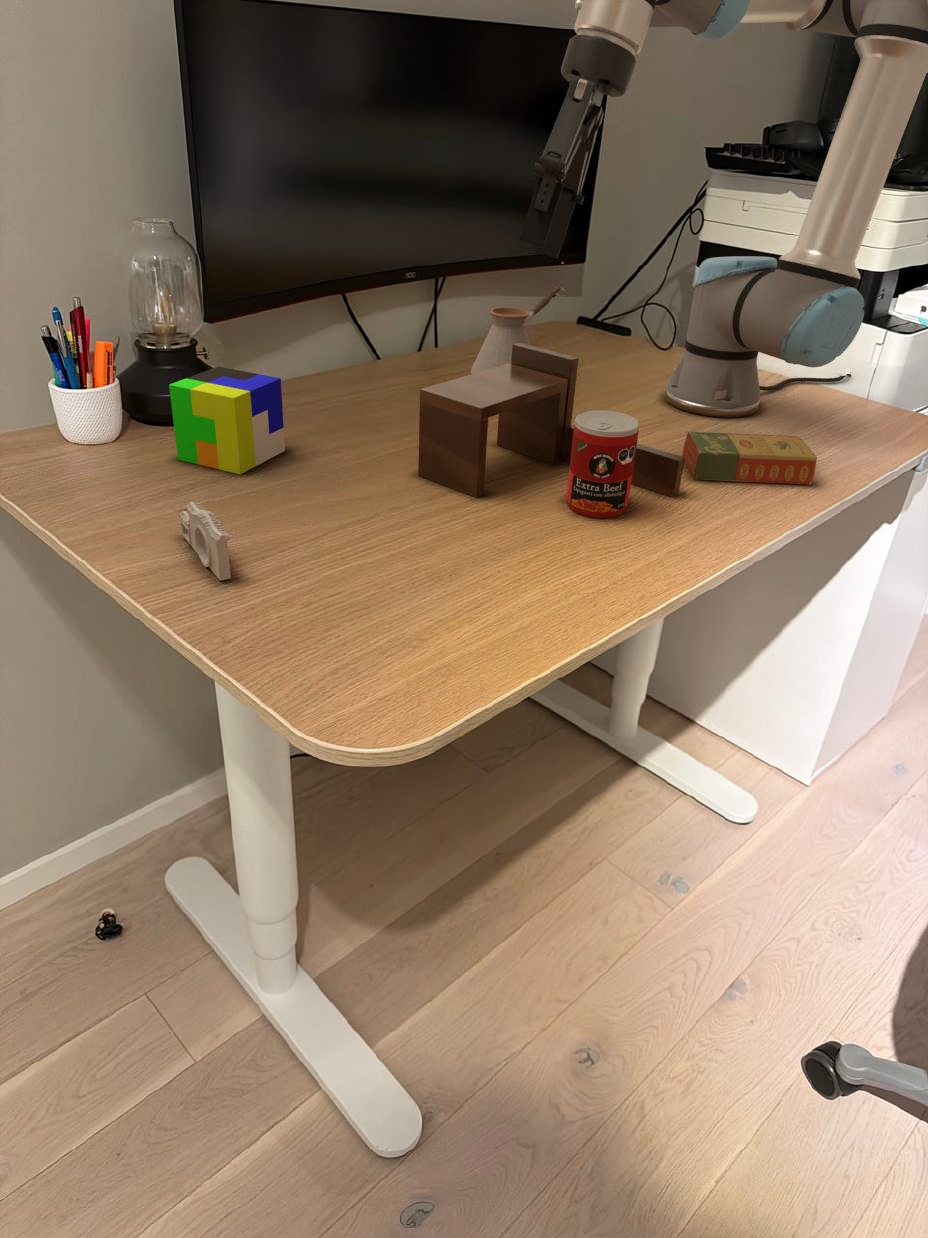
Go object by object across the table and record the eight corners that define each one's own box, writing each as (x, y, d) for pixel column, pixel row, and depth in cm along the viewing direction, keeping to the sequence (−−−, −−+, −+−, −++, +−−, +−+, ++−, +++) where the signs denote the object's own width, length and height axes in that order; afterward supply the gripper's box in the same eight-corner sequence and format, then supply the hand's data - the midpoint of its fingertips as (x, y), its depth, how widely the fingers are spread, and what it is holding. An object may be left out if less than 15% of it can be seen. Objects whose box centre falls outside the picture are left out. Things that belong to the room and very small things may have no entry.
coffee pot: (512, 405, 146) (519, 309, 139) (456, 389, 152) (460, 296, 144) (581, 378, 161) (590, 290, 153) (527, 365, 167) (534, 279, 159)
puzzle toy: (285, 450, 125) (280, 378, 120) (240, 474, 117) (233, 398, 112) (225, 437, 128) (218, 366, 123) (178, 459, 120) (168, 384, 115)
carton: (811, 486, 122) (819, 456, 120) (692, 480, 122) (697, 450, 120) (793, 463, 129) (800, 434, 127) (681, 457, 129) (686, 428, 127)
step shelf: (511, 439, 133) (518, 342, 125) (678, 494, 118) (697, 387, 111) (417, 475, 119) (420, 368, 112) (593, 542, 104) (608, 424, 97)
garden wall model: (180, 537, 101) (174, 487, 98) (196, 534, 102) (190, 485, 99) (218, 583, 92) (213, 531, 89) (235, 579, 93) (230, 527, 90)
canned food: (563, 515, 111) (572, 428, 105) (567, 490, 117) (576, 407, 112) (626, 522, 110) (639, 434, 104) (627, 496, 116) (639, 412, 111)
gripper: (581, 67, 109) (524, 249, 116) (558, -6, 86) (489, 227, 93) (641, 85, 108) (580, 267, 116) (634, 17, 85) (558, 250, 92)
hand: (539, 250), depth 104 cm, fingers open, 13 cm apart
